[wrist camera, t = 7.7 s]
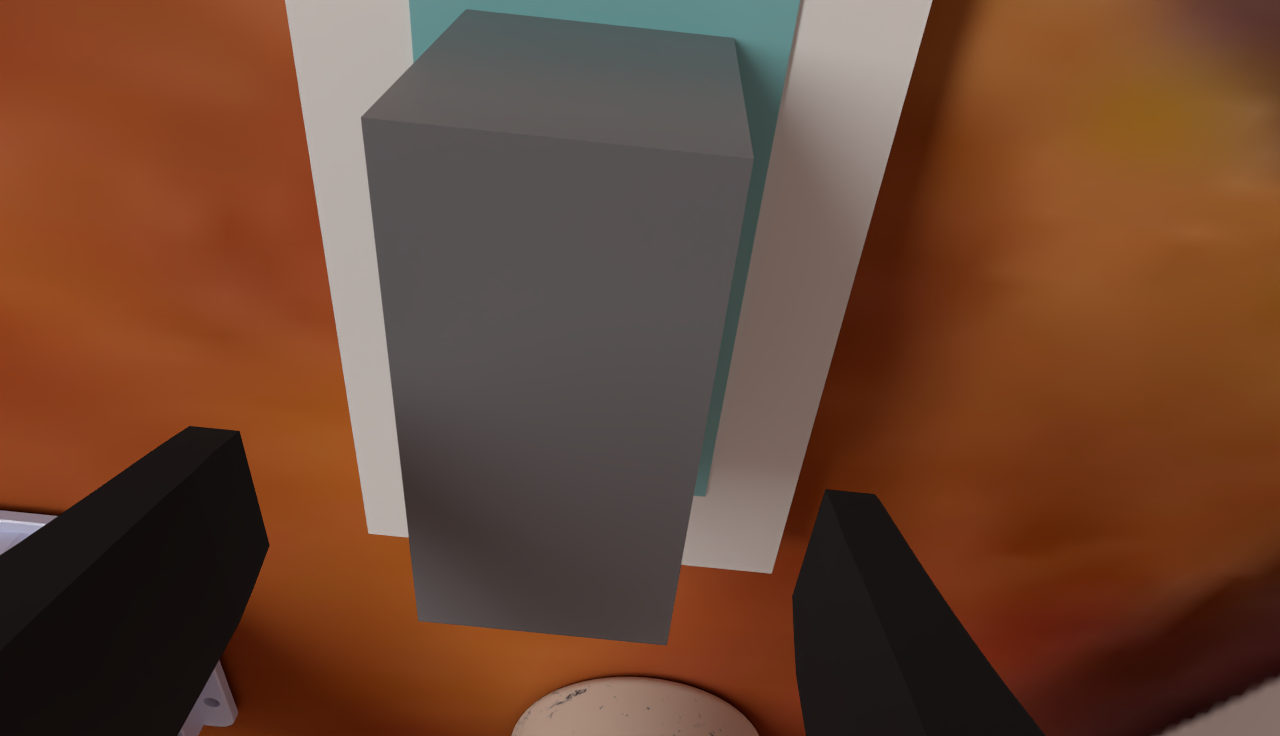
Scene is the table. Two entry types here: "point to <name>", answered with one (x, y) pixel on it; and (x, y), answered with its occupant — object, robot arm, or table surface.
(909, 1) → the pin board
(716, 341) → the block
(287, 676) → the table surface
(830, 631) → the robot arm
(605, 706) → the teacup with lid
